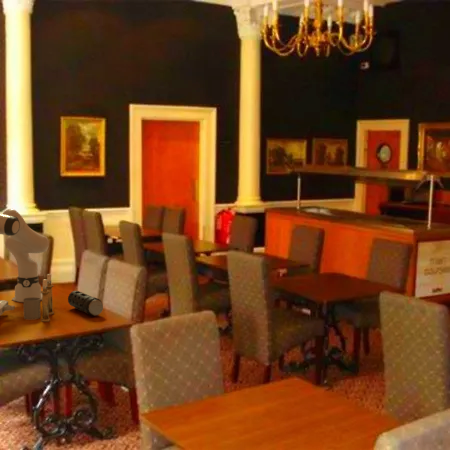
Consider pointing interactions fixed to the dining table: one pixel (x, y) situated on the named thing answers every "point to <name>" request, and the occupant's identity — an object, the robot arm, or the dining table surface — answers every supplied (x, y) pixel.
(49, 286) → the candlestick inner
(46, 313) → the candlestick outer
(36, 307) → the cup
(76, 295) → the muzzle brake
